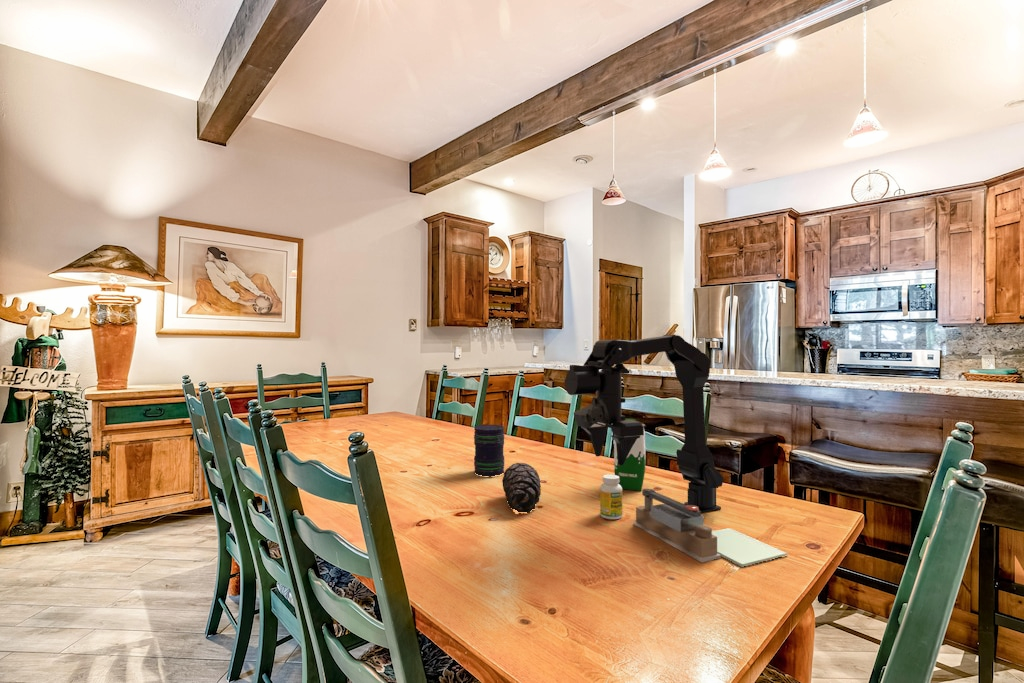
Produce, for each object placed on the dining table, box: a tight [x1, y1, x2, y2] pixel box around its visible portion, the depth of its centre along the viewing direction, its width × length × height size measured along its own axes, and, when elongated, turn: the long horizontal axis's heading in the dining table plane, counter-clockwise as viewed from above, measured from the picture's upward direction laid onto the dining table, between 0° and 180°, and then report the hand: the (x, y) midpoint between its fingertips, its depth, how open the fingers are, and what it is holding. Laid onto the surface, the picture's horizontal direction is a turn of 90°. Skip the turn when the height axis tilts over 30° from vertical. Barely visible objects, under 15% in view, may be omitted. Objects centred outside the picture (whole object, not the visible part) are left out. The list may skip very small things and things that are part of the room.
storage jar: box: [473, 424, 505, 476], centre depth 154 cm, size 10×10×15 cm
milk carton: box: [613, 418, 646, 492], centre depth 139 cm, size 9×9×20 cm
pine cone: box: [501, 462, 542, 514], centre depth 124 cm, size 10×18×10 cm, turn 11°
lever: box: [641, 488, 702, 517], centre depth 102 cm, size 16×3×2 cm, turn 23°
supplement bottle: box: [599, 474, 623, 520], centre depth 115 cm, size 5×5×10 cm
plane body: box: [632, 496, 722, 563], centre depth 101 cm, size 21×5×7 cm, turn 23°
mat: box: [712, 527, 788, 568], centre depth 97 cm, size 12×14×1 cm
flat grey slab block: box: [651, 503, 705, 532], centre depth 100 cm, size 6×9×2 cm, turn 23°
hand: (609, 460), depth 110 cm, fingers open, 9 cm apart
